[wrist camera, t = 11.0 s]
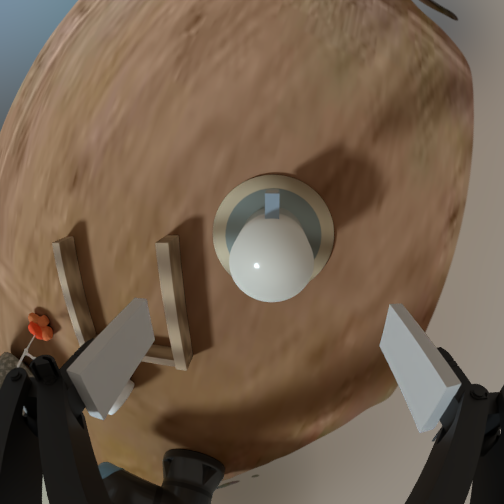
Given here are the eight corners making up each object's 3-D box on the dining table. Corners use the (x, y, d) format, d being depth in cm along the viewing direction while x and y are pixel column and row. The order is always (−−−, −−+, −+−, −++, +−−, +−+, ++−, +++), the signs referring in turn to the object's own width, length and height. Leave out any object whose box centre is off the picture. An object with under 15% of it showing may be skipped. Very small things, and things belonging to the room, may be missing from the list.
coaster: (328, 291, 33) (328, 293, 32) (216, 289, 34) (215, 291, 33) (335, 176, 29) (336, 176, 28) (211, 175, 30) (210, 175, 29)
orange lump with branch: (62, 349, 42) (29, 383, 30) (32, 320, 41) (-3, 349, 29) (66, 332, 40) (28, 367, 28) (34, 301, 39) (-6, 329, 27)
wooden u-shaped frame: (193, 355, 38) (186, 370, 34) (91, 338, 39) (81, 349, 36) (178, 235, 32) (168, 242, 29) (66, 236, 34) (51, 242, 30)
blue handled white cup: (242, 265, 32) (230, 300, 24) (241, 187, 29) (226, 195, 21) (302, 266, 32) (310, 302, 23) (304, 188, 29) (316, 196, 20)
